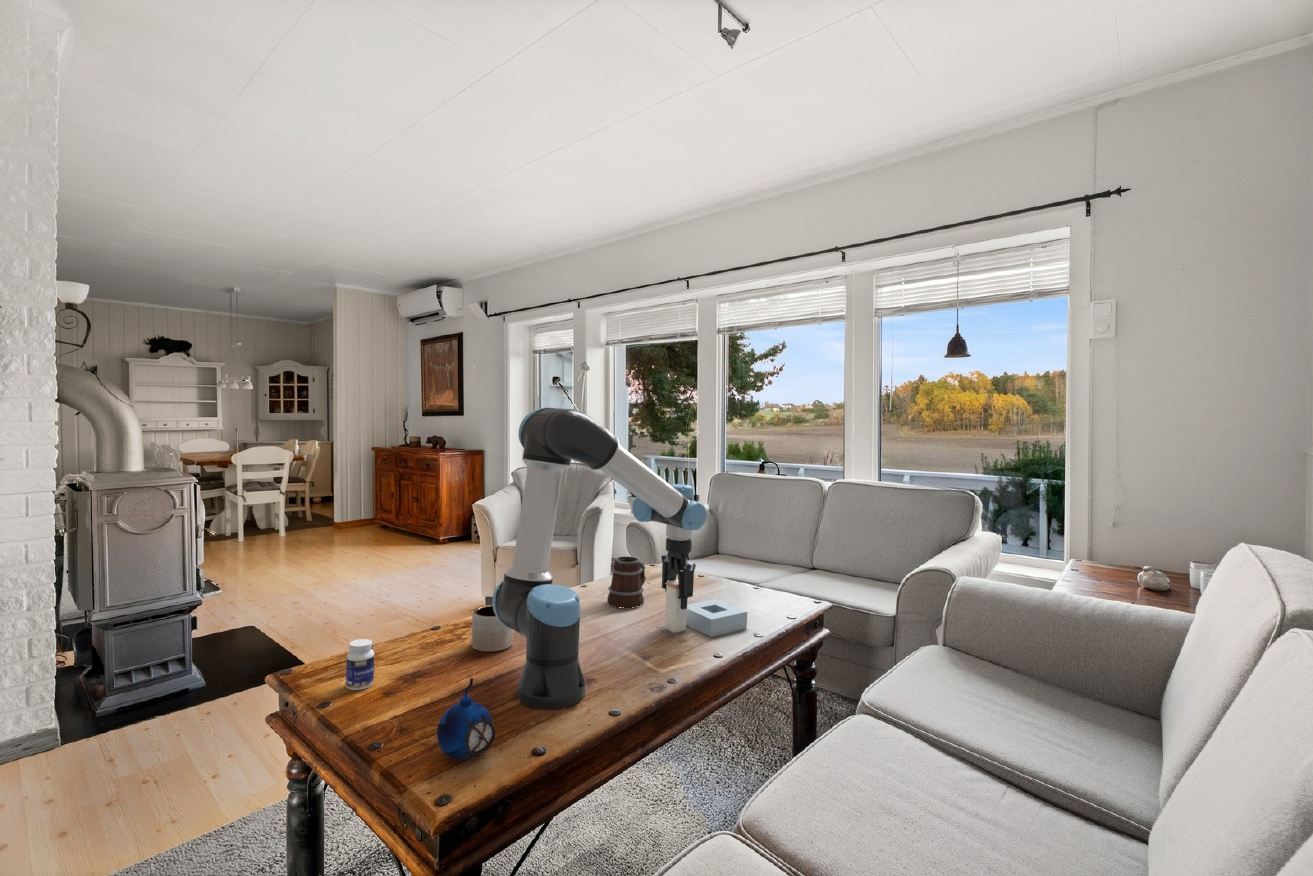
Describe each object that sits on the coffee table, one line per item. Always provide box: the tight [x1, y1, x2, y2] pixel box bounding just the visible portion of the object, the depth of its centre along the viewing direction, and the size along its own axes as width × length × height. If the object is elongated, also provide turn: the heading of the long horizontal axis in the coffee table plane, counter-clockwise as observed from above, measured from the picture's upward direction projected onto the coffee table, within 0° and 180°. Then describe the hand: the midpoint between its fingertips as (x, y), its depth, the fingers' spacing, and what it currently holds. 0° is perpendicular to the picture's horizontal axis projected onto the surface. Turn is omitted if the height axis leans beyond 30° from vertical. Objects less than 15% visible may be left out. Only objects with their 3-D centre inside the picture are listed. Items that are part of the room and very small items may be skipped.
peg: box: [664, 578, 687, 633], centre depth 181 cm, size 4×4×14 cm
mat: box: [656, 625, 695, 637], centre depth 181 cm, size 8×8×1 cm
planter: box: [470, 604, 514, 653], centre depth 166 cm, size 11×11×10 cm
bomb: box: [436, 677, 497, 761], centre depth 113 cm, size 10×11×15 cm
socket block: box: [686, 598, 748, 638], centre depth 185 cm, size 14×14×6 cm
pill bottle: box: [345, 638, 375, 691], centre depth 140 cm, size 6×6×10 cm
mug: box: [607, 556, 647, 609], centre depth 208 cm, size 16×12×15 cm
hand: (675, 616), depth 181 cm, fingers closed on peg, 4 cm apart
